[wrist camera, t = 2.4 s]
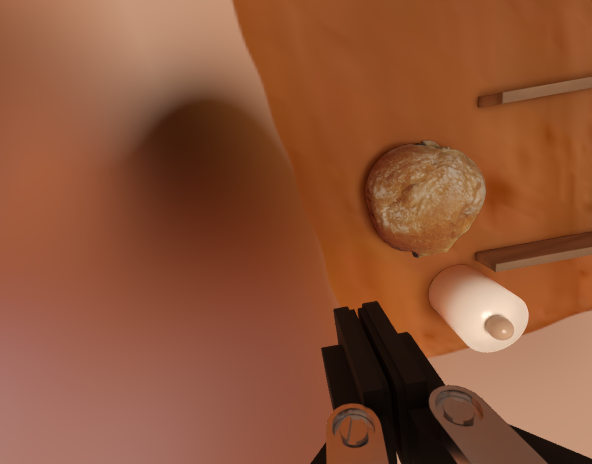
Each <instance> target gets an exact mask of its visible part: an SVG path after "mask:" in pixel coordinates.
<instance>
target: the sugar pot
mask: <svg viewBox="0 0 592 464" xmlns="http://www.w3.org/2000/svg"><path fill="white" fill-rule="evenodd" d="M428 297H429V302H430V304H431V306H432V307H433V308H434V309H435V310H436V311H437V313H438V314H439V315H440V316H441V317H442V318H443V319H444V320H445V321H446V322H447V323H448V325H449V326H450V327H451V328H452V329H453V330H454V331H455V332H456V333H457V334H458V335H459V337H460V338H461V339H462V340H463V341H464V342H465V343H466V344H467V345H468V346H469V347H470V348H472V349H474V350H476V351H479V352H494V351H498V350H502V349H504V348H506V347H508V346H510V345H511V344H512V343H514V342H515V341H516V340H517V339H518V338H519V337H520V336H521V335H522V333H523V332H524V330H525V328H526V326H527V323H528V309H527V306H526V304H525V303H524V302H523V300H521V299H520V298H519V297H517V296H516V295H514V294H513V293H511V292H510V291H508V290H507V289H505V288H504V287H502V286H501V285H499V284H498V283H496V282H495V281H493V280H492V279H490V278H489V277H487V276H486V275H484V274H483V273H481V272H480V271H478V270H476V269H475V268H473V267H471V266H468V265H454V266H451V267H448V268H446V269H444V270H443V271H441V272H440V273H439V274H438V275H437V276H436V277H435V278H434V279H433V281H432V283H431V285H430V287H429V292H428Z"/></svg>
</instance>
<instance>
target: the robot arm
mask: <svg viewBox="0 0 592 464" xmlns="http://www.w3.org/2000/svg"><path fill="white" fill-rule="evenodd" d="M358 317H359V319H358ZM358 317H357V315H356V312H355V310H354V309H352V310H349V308H348V307H341V308H337V309H334V318H335V324H336V330H337V337H338V344H339V345H334V346H329V347H323V348H321V350H322V356H323V362H324V367H325V372H326V378H327V383H328V388H329V393H330V397H331V402H332V407H333V412H332V413H331V414H330V416H329V418H328V420H327V426H326V443H325V444H324V446H323V447H322V448H321V450H320V451H319V453H318V454H317V455H316V457H315V458H314V460H313V461H312V462H311V464H397V456H396V452H397V454H398V457H399V460H400V462H401V464H592V459H590V458H588V457H586V456H583V455H581V454H579V453H576V452H574V451H572V450H569V449H566V448H564V447H562V446H560V445H557V444H555V443H552V442H550V441H547V440H545V439H543V438H541V437H538V436H536V435H533V434H531V433H529V432H526V431H524V430H521V429H519V428H517V427H514V426H512V425H509V424H507V423H506V422H505V421H504V420H503V419H502V418H501V417H500V416H499V415H498V414H497V413H496V412H495V411H494V410H493V409H492V408H491V407H490V406H489V405H488V404H487V403H486V402H485V401H484V400H483V399H482V398H480V397H479V396H478V395H477V394H476V393H474V392H472V391H470V390H468V389H466V388H463V387H459V386H451V385H447V386H445V384H444V383H443V381H442V380H441V378H440V377H439V376H438V374H437V373H436V371H435V370H434V368H433V367H432V365H431V364H430V362H429V361H428V359H427V358H426V357H425V355H424V354H423V352H422V351H421V349H420V348H419V346H418V345H417V344H416V342H415V341H414V339H413V338H412V336H411V335H410V334H409V333H408V332H404V333H399V334H398V333H397V332H396V330H395V329H394V327H393V325H392V324H391V322H390V321H389V319H388V317H387V316H386V314H385V313H384V311H383V310H382V308H381V306H380V305H379V303H378V302H377V301H374V302H369V303H363V304H362V308H358Z"/></svg>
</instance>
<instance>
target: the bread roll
mask: <svg viewBox="0 0 592 464" xmlns="http://www.w3.org/2000/svg"><path fill="white" fill-rule="evenodd" d="M485 195H486V187H485V180H484V177H483V175H482V172H481V171H480V170H479V168H478V167H477V165H476V164H475V162H474V161H473V160H471V159H470V158H468V157H467V156H466V155H465V154H464V153H462V152H461V151H458V150H451V149H450V148H449V147H445V148H443V147H440V146H439V145H438V144H437V143H435V142H433V141H429V140H428V141H423V142H422V144H419V143H418V144H406V145H401V146H399V147H397V148H395V149H392V150H390V151H388V152H387V153H385V154H384V155H383V156H382V157H381V158H380V159H379V160H378V161H377V162H376V164H375V165H374V167H373V168H372V170H371V172H370V174H369V177H368V179H367V182H366V185H365V196H366V200H367V205H368V207H369V214H370V217H371V220H372V221H373V224H374V227H375V229H376V230H377V233H378V235H379V236H380V238H382V239H383V240H384V241H385V242H387V243H388V244H389V245H390V246H391V247H392V248H395V249H397V250H400V251H411V252H413V253H412V254H413V256H414V257H417V258H420V257H423V256H427V255H432V254H437V253H440V252H447V251H448V250H449V248H450V247H452V245H453V244H454V242H455V241H456V240H457V239H458V237H460V236H461V235H462V234H463V233H465V232H466V231H467V230H468V229H469V228H470V226H471V224H472V223H473V221H474V220H475V219H476V217H477V215H478V214H479V212H480V210H481V208H482V205H483V202H484V199H485Z"/></svg>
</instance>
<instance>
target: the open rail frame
mask: <svg viewBox="0 0 592 464" xmlns="http://www.w3.org/2000/svg"><path fill="white" fill-rule="evenodd" d="M586 88H592V77H587V78H582V79H576V80H570V81H565V82H559V83H554V84H548V85H542V86H537V87H531V88H526V89H520V90H514V91H509V92H503V93H498V94H493V95H488V96H483V97H479V98H478V107H483V106H490V105H496V104H503V103H508V102H514V101H519V100H525V99H530V98H536V97H542V96H547V95H553V94H558V93H564V92H570V91H575V90H581V89H586ZM587 255H592V232H587V233H582V234H576V235H570V236H565V237H559V238H554V239H548V240H543V241H537V242H532V243H526V244H521V245H515V246H510V247H504V248H499V249H493V250H487V251H482V252H476V260H477V261H479V262H480V263H482V264H484V265H485V266H487V267H488V268H490V269H492V270H493V271H495V272H499V271H504V270H510V269H516V268H521V267H527V266H532V265H538V264H543V263H549V262H554V261H560V260H565V259H571V258H576V257H582V256H587Z"/></svg>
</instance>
